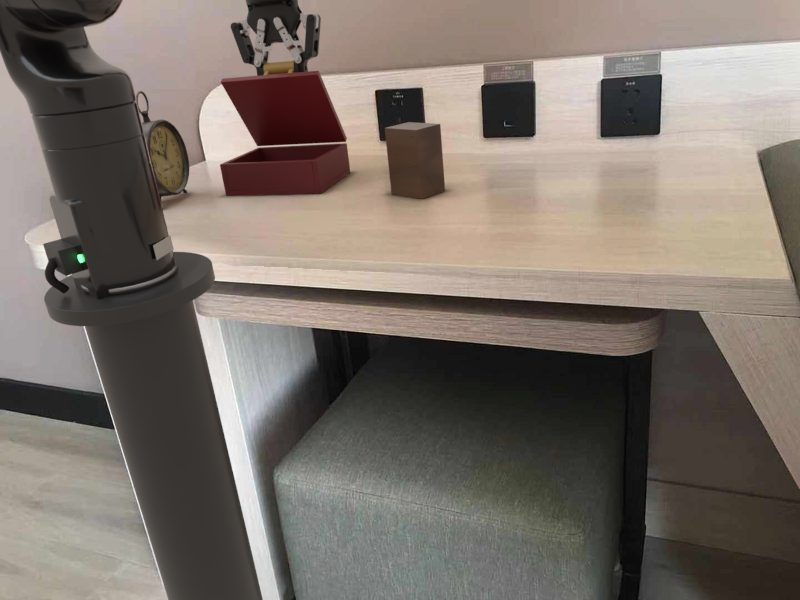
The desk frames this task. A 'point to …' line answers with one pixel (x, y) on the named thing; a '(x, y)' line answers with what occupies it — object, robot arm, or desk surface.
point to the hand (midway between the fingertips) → (285, 90)
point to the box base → (286, 170)
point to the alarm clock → (166, 154)
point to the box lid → (285, 106)
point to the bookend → (415, 159)
